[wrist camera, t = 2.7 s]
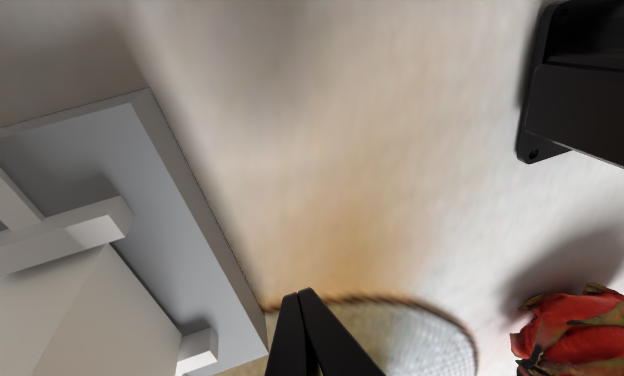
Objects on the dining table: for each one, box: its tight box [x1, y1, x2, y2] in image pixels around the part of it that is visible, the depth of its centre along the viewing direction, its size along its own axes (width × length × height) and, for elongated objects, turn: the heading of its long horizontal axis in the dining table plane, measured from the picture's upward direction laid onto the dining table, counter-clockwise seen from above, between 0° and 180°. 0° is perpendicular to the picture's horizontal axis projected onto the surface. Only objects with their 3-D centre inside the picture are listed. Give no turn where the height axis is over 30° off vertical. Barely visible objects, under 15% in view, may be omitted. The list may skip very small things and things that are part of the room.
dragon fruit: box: [510, 283, 624, 376], centre depth 19 cm, size 8×8×12 cm
